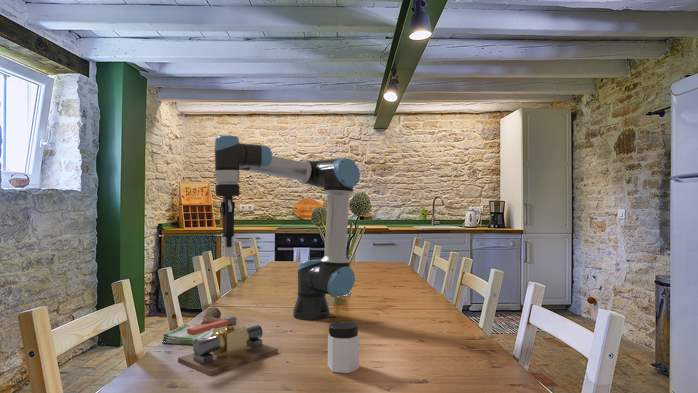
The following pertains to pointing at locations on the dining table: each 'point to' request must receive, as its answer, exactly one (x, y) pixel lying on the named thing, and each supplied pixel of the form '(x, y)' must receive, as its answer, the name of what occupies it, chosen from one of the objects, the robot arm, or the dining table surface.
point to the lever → (211, 325)
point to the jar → (343, 347)
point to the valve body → (227, 342)
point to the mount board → (228, 360)
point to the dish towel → (185, 336)
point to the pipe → (212, 316)
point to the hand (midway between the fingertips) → (228, 256)
